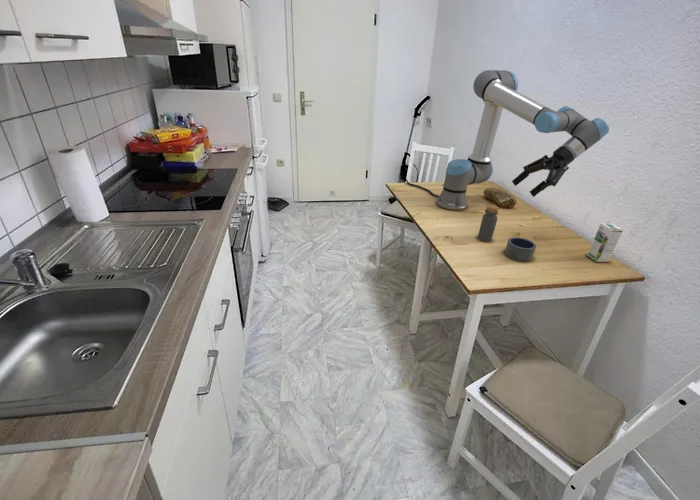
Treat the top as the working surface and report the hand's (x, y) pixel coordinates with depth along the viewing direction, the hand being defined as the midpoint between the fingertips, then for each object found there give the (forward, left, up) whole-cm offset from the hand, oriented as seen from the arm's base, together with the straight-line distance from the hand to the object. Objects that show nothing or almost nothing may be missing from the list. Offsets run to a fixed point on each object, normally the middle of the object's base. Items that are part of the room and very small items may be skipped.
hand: (522, 188), depth 147 cm
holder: (+9, -12, -23) cm, 27 cm away
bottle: (-7, -8, -23) cm, 25 cm away
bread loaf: (-22, +43, -23) cm, 54 cm away
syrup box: (+33, +10, -23) cm, 41 cm away
